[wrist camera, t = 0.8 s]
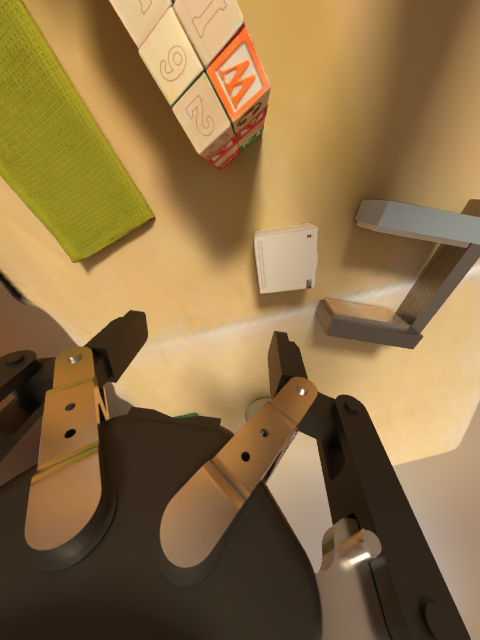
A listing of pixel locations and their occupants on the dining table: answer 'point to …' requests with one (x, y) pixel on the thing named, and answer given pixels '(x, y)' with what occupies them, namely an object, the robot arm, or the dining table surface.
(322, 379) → the dining table surface
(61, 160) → the dish towel
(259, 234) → the small box
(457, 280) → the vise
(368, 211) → the block
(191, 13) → the stack of blocks
